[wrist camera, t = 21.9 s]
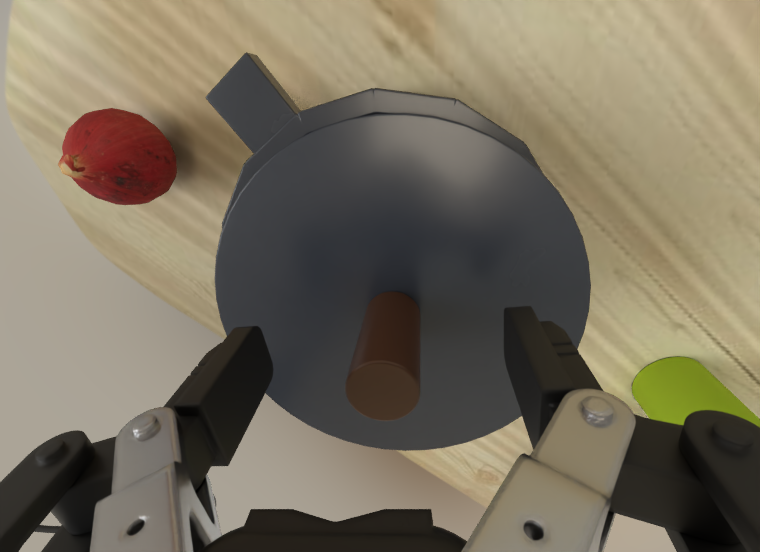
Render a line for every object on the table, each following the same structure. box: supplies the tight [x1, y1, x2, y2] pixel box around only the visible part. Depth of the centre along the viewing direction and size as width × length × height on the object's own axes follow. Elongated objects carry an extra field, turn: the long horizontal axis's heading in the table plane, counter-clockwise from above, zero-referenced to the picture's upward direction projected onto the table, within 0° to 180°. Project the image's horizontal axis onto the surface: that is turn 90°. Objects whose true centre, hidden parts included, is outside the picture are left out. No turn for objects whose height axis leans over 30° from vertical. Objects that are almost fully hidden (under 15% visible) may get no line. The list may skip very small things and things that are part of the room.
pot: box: [206, 53, 543, 230], centre depth 21 cm, size 15×20×12 cm
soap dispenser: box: [632, 357, 760, 427], centre depth 23 cm, size 6×7×20 cm
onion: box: [58, 108, 177, 205], centre depth 23 cm, size 6×6×8 cm
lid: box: [215, 113, 591, 451], centre depth 14 cm, size 16×16×6 cm
